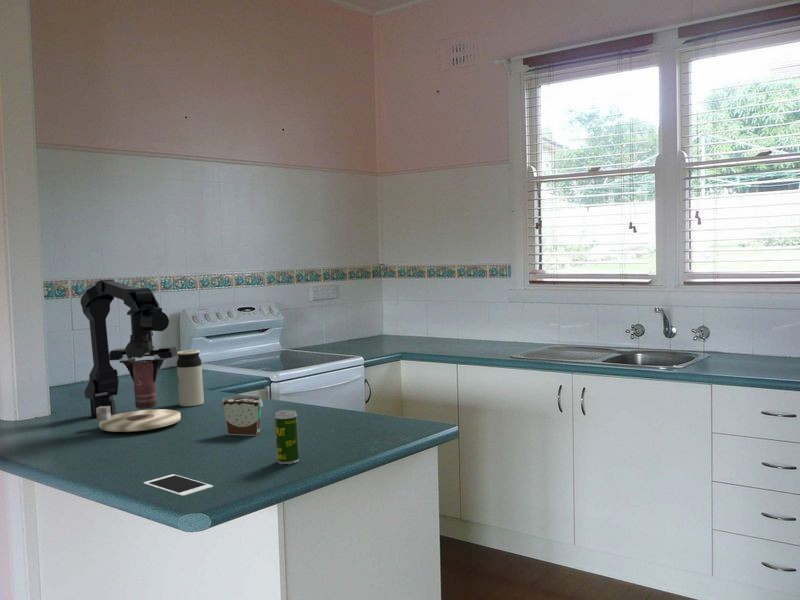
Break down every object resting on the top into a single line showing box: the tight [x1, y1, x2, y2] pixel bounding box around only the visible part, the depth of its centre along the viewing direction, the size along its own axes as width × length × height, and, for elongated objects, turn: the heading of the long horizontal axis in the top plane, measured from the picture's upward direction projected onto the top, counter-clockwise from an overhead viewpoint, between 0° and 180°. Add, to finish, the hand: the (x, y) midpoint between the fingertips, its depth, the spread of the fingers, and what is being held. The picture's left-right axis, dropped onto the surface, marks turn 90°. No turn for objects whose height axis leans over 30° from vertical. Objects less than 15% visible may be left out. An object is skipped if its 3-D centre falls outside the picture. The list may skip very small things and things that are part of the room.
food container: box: [220, 395, 264, 437], centre depth 222 cm, size 12×6×10 cm, turn 71°
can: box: [133, 359, 158, 410], centre depth 237 cm, size 6×6×14 cm
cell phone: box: [143, 473, 214, 497], centre depth 175 cm, size 8×16×1 cm, turn 48°
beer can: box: [274, 409, 300, 465], centre depth 189 cm, size 5×5×12 cm
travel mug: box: [176, 349, 205, 408], centre depth 266 cm, size 8×8×18 cm
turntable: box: [96, 406, 182, 433], centre depth 236 cm, size 24×23×5 cm
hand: (145, 382), depth 237 cm, fingers closed on can, 6 cm apart
